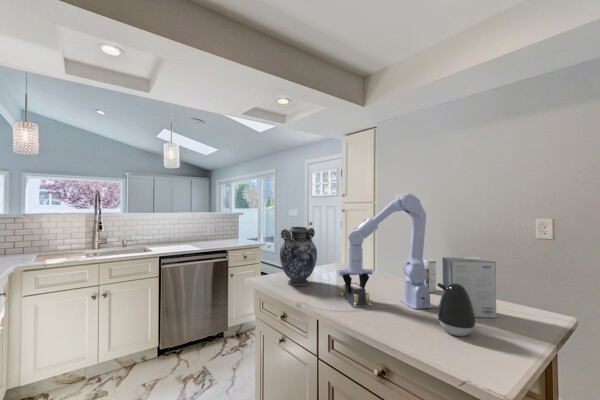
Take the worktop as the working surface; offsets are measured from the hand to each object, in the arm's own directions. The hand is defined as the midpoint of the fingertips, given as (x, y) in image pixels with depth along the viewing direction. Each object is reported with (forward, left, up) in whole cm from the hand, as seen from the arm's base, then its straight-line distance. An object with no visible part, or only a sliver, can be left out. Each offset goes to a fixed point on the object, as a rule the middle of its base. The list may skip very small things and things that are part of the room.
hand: (355, 292), depth 112 cm
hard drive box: (-20, -36, -3) cm, 41 cm away
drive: (0, 0, -3) cm, 3 cm away
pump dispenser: (-32, -20, -3) cm, 38 cm away
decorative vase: (+27, +19, -3) cm, 33 cm away
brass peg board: (0, 0, -3) cm, 3 cm away
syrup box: (+6, -38, -3) cm, 39 cm away
